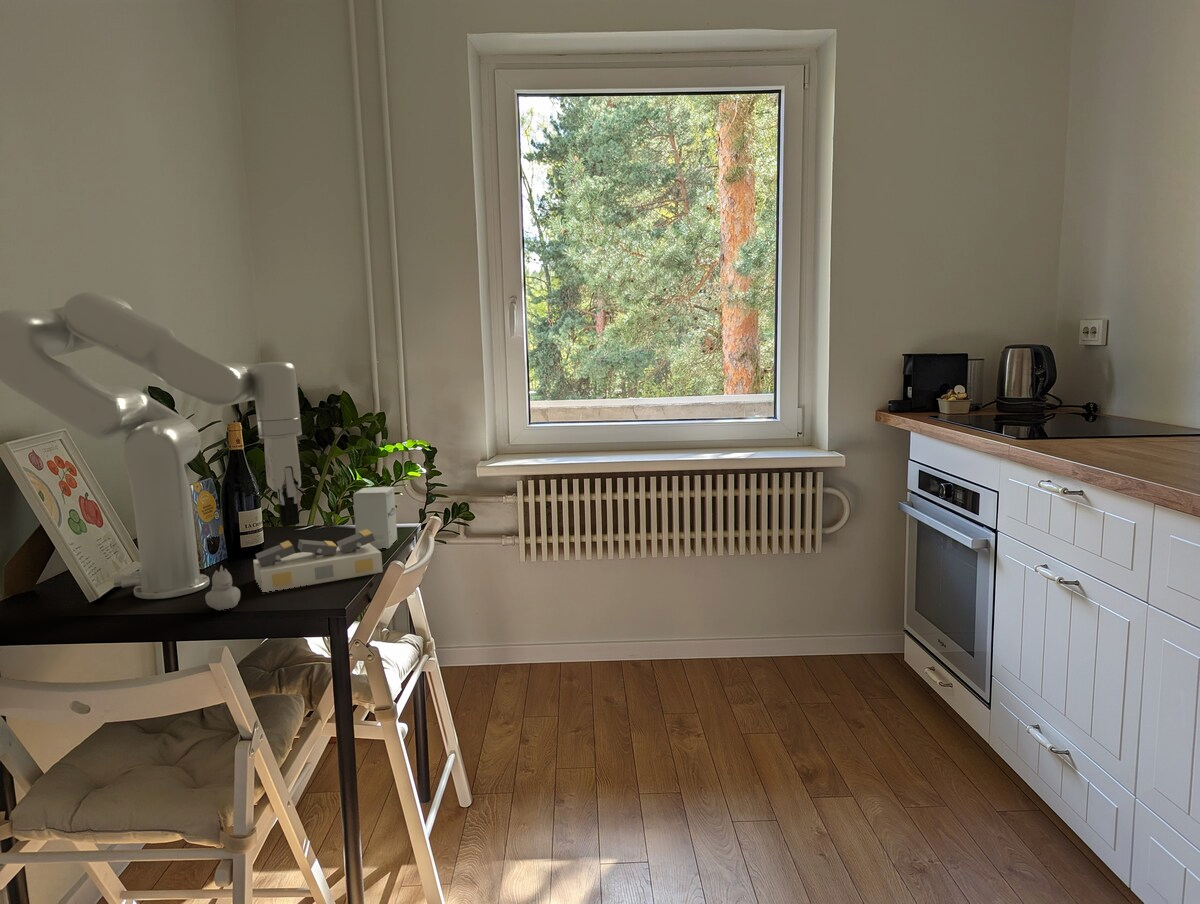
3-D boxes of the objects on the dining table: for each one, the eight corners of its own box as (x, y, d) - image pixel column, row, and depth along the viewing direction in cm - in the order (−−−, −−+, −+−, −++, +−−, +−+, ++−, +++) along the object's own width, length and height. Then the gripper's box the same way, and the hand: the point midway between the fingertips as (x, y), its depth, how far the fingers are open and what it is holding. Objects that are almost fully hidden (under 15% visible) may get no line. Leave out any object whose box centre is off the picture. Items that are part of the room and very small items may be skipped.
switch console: (263, 593, 148) (260, 569, 147) (255, 579, 156) (252, 556, 156) (383, 572, 158) (381, 549, 158) (369, 560, 167) (367, 539, 167)
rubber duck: (214, 616, 136) (209, 570, 135) (201, 608, 141) (196, 563, 139) (247, 608, 139) (242, 563, 138) (233, 600, 144) (228, 556, 143)
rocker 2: (301, 552, 153) (303, 543, 153) (297, 547, 157) (298, 538, 157) (336, 554, 156) (337, 545, 156) (330, 549, 160) (332, 541, 160)
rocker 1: (261, 566, 150) (258, 558, 149) (257, 561, 154) (254, 552, 153) (295, 553, 153) (292, 544, 152) (291, 548, 156) (288, 539, 156)
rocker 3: (344, 553, 157) (341, 545, 157) (338, 548, 161) (335, 540, 161) (375, 540, 160) (372, 532, 160) (369, 536, 164) (366, 528, 164)
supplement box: (389, 549, 176) (385, 492, 174) (355, 550, 176) (351, 493, 175) (398, 540, 184) (394, 486, 182) (366, 541, 184) (362, 486, 182)
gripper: (252, 427, 155) (263, 520, 158) (264, 433, 143) (275, 535, 145) (293, 423, 159) (303, 514, 162) (308, 429, 146) (318, 528, 149)
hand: (290, 524), depth 154 cm, fingers closed
